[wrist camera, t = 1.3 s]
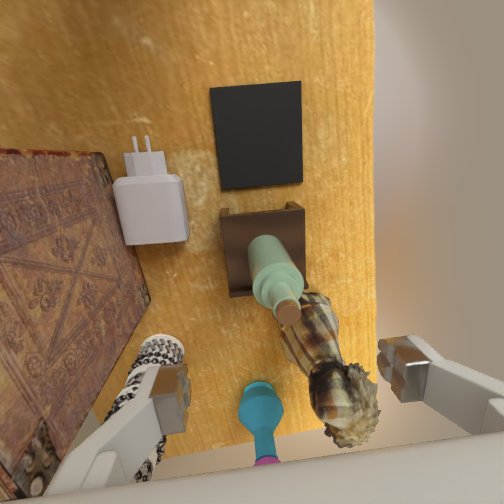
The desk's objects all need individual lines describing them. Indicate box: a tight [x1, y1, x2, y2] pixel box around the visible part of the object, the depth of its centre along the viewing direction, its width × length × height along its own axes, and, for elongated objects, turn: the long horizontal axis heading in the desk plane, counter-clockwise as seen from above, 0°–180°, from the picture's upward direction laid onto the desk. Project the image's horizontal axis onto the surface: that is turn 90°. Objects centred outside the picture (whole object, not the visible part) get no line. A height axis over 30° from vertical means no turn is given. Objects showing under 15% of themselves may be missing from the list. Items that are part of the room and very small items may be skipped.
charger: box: [112, 136, 190, 245], centre depth 38 cm, size 5×9×15 cm
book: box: [0, 148, 151, 502], centre depth 28 cm, size 25×9×30 cm, turn 9°
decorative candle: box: [101, 334, 185, 484], centre depth 39 cm, size 9×9×25 cm
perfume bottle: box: [238, 382, 284, 466], centre depth 49 cm, size 9×9×15 cm
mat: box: [210, 81, 303, 190], centre depth 39 cm, size 14×13×1 cm
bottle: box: [247, 235, 304, 326], centre depth 30 cm, size 6×6×16 cm
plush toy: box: [272, 292, 381, 448], centre depth 39 cm, size 14×14×25 cm
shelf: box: [220, 201, 309, 298], centre depth 41 cm, size 12×12×8 cm
